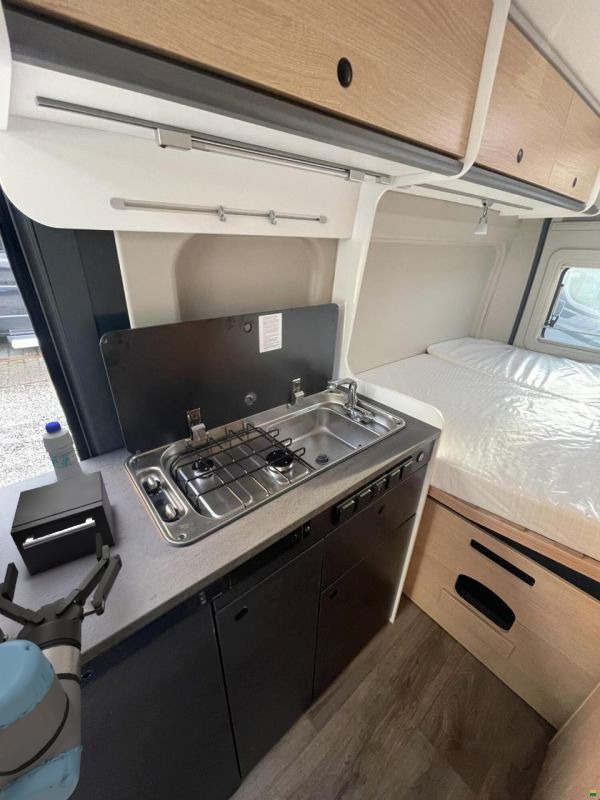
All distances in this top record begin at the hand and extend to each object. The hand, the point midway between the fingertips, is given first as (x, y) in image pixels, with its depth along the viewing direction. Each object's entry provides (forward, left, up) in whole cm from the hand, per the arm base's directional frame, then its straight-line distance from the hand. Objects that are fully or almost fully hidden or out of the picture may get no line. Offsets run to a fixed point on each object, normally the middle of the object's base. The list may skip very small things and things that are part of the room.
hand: (58, 551), depth 62 cm
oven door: (-3, +6, -11) cm, 13 cm away
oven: (-8, +14, -11) cm, 19 cm away
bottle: (-22, +35, -12) cm, 42 cm away
